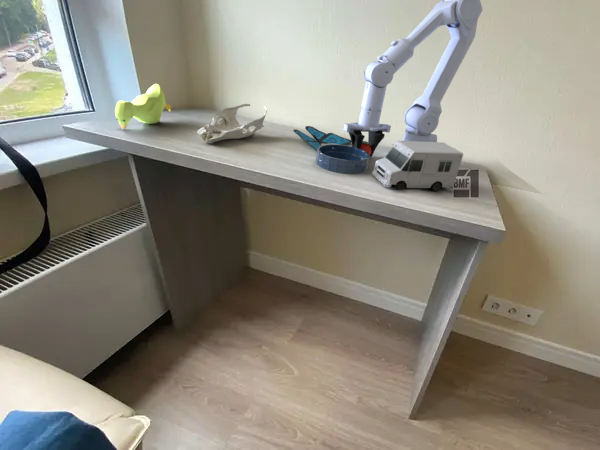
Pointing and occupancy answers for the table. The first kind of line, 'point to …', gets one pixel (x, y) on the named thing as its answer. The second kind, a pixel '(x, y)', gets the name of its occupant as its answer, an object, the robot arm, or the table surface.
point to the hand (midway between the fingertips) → (362, 156)
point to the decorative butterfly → (321, 137)
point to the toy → (142, 107)
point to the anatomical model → (229, 126)
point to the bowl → (342, 158)
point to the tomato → (366, 147)
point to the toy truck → (419, 165)
